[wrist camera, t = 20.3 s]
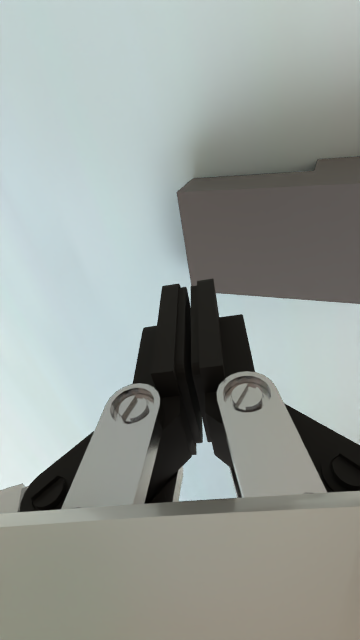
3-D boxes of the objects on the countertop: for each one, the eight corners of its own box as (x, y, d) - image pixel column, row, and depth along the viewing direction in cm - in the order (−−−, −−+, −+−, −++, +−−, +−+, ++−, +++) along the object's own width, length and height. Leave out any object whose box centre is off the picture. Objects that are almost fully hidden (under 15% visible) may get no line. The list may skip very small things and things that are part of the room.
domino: (204, 272, 19) (418, 282, 15) (192, 291, 17) (425, 308, 13) (192, 178, 16) (454, 161, 12) (176, 192, 14) (467, 177, 11)
